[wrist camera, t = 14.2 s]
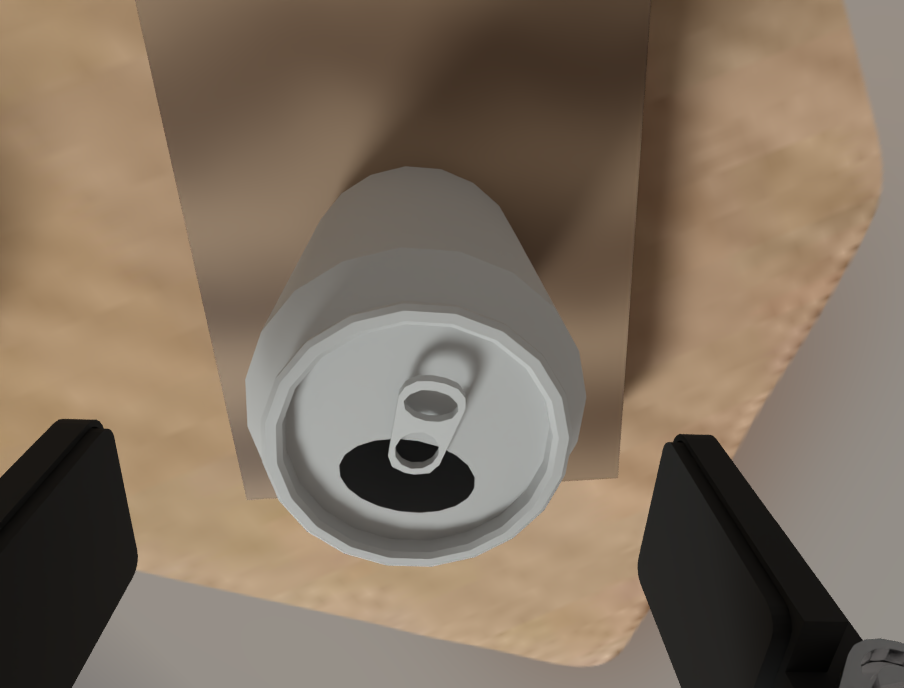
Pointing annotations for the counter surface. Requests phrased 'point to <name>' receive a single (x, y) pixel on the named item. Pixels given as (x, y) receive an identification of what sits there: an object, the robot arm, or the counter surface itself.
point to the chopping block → (407, 153)
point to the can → (415, 376)
